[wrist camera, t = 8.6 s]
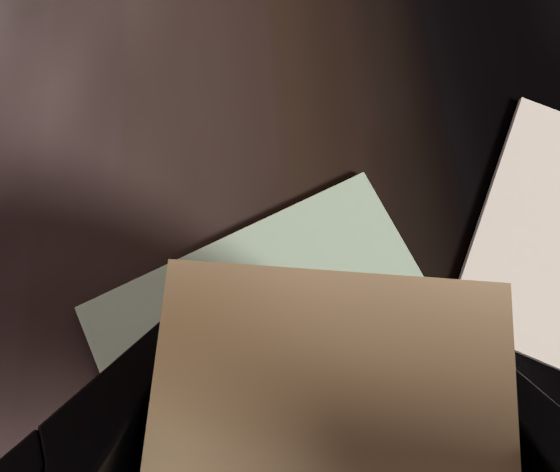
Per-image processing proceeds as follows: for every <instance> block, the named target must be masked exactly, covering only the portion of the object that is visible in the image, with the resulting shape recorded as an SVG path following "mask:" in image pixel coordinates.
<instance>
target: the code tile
mask: <svg viewBox="0 0 560 472" xmlns="http://www.w3.org/2000/svg"><path fill="white" fill-rule="evenodd" d="M458 279H460V280H474V281H488V282H503V283H511V294H512V312H513V330H514V348H515V352H516V353H519V354H521V355H524V356H526V357H528V358H531V359H533V360H535V361H538V362H540V363H542V364H545V365H547V366H550V367H552V368H554V369H557V370H559V371H560V111H557V110H555V109H552V108H549V107H547V106H544V105H541V104H539V103H536V102H533V101H531V100H528V99H525V98H523V97H522V98H521V99H520V100H519V101H518V104H517V107H516V110H515V113H514V116H513V119H512V122H511V125H510V127H509V130H508V133H507V136H506V139H505V142H504V145H503V148H502V151H501V154H500V157H499V160H498V163H497V166H496V169H495V172H494V175H493V178H492V181H491V184H490V187H489V190H488V193H487V196H486V198H485V201H484V204H483V207H482V210H481V213H480V216H479V219H478V222H477V225H476V228H475V231H474V234H473V237H472V240H471V243H470V246H469V249H468V252H467V255H466V258H465V261H464V264H463V267H462V270H461V272H460V275H459V278H458Z"/></svg>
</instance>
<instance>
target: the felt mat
mask: <svg viewBox="0 0 560 472" xmlns="http://www.w3.org/2000/svg"><path fill="white" fill-rule="evenodd" d="M178 260H192V261H206V262H220V263H234V264H248V265H262V266H277V267H291V268H305V269H319V270H333V271H347V272H361V273H375V274H390V275H404V276H418V277H424V276H423V275H422V273H421V271H420V269H419V268H418V266H417V264H416V262H415V261H414V259H413V257H412V255H411V254H410V252H409V250H408V248H407V247H406V245H405V243H404V241H403V240H402V238H401V236H400V234H399V233H398V231H397V229H396V227H395V226H394V224H393V222H392V221H391V219H390V217H389V215H388V214H387V212H386V210H385V208H384V207H383V205H382V203H381V201H380V200H379V198H378V196H377V194H376V193H375V191H374V189H373V187H372V186H371V184H370V182H369V180H368V179H367V177H366V175H365V173H364V172H363V173H360V174H358V175H356V176H354V177H352V178H350V179H348V180H345V181H343V182H341V183H339V184H337V185H335V186H333V187H331V188H328V189H326V190H324V191H322V192H320V193H318V194H316V195H313V196H311V197H309V198H307V199H305V200H303V201H301V202H299V203H296V204H294V205H292V206H290V207H288V208H286V209H284V210H281V211H279V212H277V213H275V214H273V215H271V216H269V217H266V218H264V219H262V220H260V221H258V222H256V223H254V224H252V225H249V226H247V227H245V228H243V229H241V230H239V231H237V232H234V233H232V234H230V235H228V236H226V237H224V238H222V239H220V240H217V241H215V242H213V243H211V244H209V245H207V246H205V247H202V248H200V249H198V250H196V251H194V252H192V253H190V254H187V255H185V256H183V257H181V258H179V259H178ZM167 265H168V264H166V265H164V266H162V267H160V268H158V269H155V270H153V271H151V272H149V273H147V274H145V275H143V276H141V277H138V278H136V279H134V280H132V281H130V282H128V283H126V284H123V285H121V286H119V287H117V288H115V289H113V290H111V291H109V292H106V293H104V294H102V295H100V296H98V297H96V298H94V299H91V300H89V301H87V302H85V303H83V304H81V305H79V306H76V307H74V308H75V310H76V313H77V316H78V318H79V321H80V323H81V326H82V329H83V331H84V334H85V336H86V339H87V341H88V344H89V347H90V349H91V352H92V354H93V357H94V360H95V362H96V365H97V367H98V370H99V373H101V372H102V371H103V370H104V369H105V368H106V367H108V366H109V365H110V364H111V363H112V362H113V361H115V360H116V359H117V358H118V357H119V356H120V355H121V354H123V353H124V352H125V351H126V350H127V349H128V348H130V347H131V346H132V345H133V344H134V343H135V342H136V341H138V340H139V339H140V338H141V337H142V336H143V335H145V334H146V333H147V332H148V331H149V330H150V329H151V328H153V327H154V326H155V325H156V324H157V323H158V322H160V318H161V310H162V303H163V295H164V288H165V280H166V272H167Z"/></svg>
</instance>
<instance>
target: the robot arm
mask: <svg viewBox="0 0 560 472" xmlns="http://www.w3.org/2000/svg"><path fill="white" fill-rule="evenodd" d="M159 325H160V322H158V323H157V324H156V325H155V326H154V327H153V328H151V329H150V330H149V331H148V332H147V333H146V334H145V335H143V336H142V337H141V338H140V339H139V340H138V341H136V342H135V343H134V344H133V345H132V346H131V347H130V348H128V349H127V350H126V351H125V352H124V353H123V354H121V355H120V356H119V357H118V358H117V359H116V360H115V361H113V362H112V363H111V364H110V365H109V366H108V367H106V368H105V369H104V370H103V371H102V372H101V373H100V374H98V375H97V376H96V377H95V378H94V379H93V380H91V381H90V382H89V383H88V384H87V385H86V386H85V387H83V388H82V389H81V390H80V391H79V392H78V393H76V394H75V395H74V396H73V397H72V398H71V399H70V400H68V401H67V402H66V403H65V404H64V405H63V406H61V407H60V408H59V409H58V410H57V411H56V412H54V413H53V414H52V415H51V416H50V417H49V418H48V419H46V420H45V421H44V422H43V423H42V424H41V425H39V427H38V430H34V431H32V432H31V433H30V434H29V435H28V436H27V437H25V438H24V439H23V440H22V441H21V442H20V443H18V444H17V445H16V446H15V447H14V448H12V449H11V450H10V451H9V452H8V453H6V454H5V455H4V456H3V457H2V458H0V472H140V469H141V461H142V454H143V446H144V439H145V431H146V423H147V416H148V408H149V401H150V393H151V386H152V378H153V371H154V363H155V355H156V348H157V340H158V333H159ZM516 384H517V402H518V420H519V438H520V456H521V472H560V406H559V405H558V404H556V403H555V402H554V401H553V400H552V399H551V398H549V397H548V396H547V395H546V394H545V393H543V392H542V391H541V390H540V389H539V388H538V387H536V386H535V385H534V384H533V383H532V382H530V381H529V380H528V379H527V378H526V377H525V376H523V375H522V374H521V373H520V372H519V371H517V370H516Z"/></svg>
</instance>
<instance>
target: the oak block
mask: <svg viewBox="0 0 560 472" xmlns="http://www.w3.org/2000/svg"><path fill="white" fill-rule="evenodd" d="M140 472H521V456H520V438H519V420H518V402H517V384H516V366H515V348H514V330H513V312H512V294H511V283H503V282H488V281H474V280H460V279H446V278H432V277H418V276H404V275H390V274H375V273H361V272H347V271H333V270H319V269H305V268H291V267H277V266H262V265H248V264H234V263H220V262H206V261H192V260H178V259H168V265H167V272H166V280H165V288H164V295H163V303H162V310H161V318H160V325H159V333H158V340H157V348H156V355H155V363H154V371H153V378H152V386H151V393H150V401H149V408H148V416H147V423H146V431H145V439H144V446H143V454H142V461H141V469H140Z"/></svg>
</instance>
